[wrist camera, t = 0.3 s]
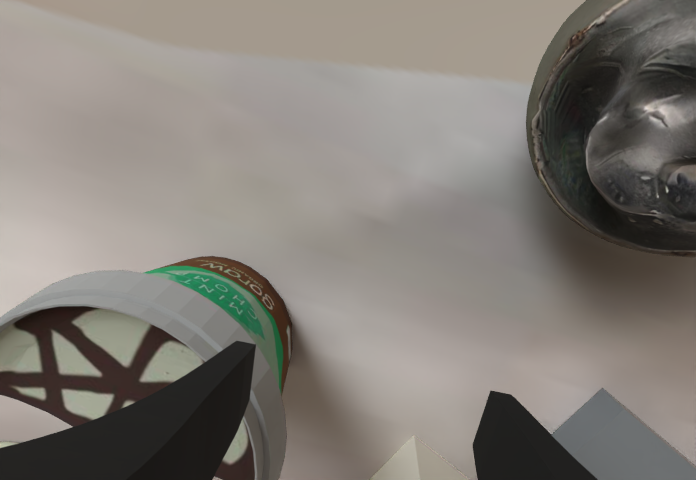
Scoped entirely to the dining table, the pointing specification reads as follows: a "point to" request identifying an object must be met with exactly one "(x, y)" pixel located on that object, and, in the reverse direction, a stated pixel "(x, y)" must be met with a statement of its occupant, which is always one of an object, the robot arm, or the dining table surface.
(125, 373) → the food container
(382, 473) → the block
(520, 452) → the robot arm
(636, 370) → the dining table surface
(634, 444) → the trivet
